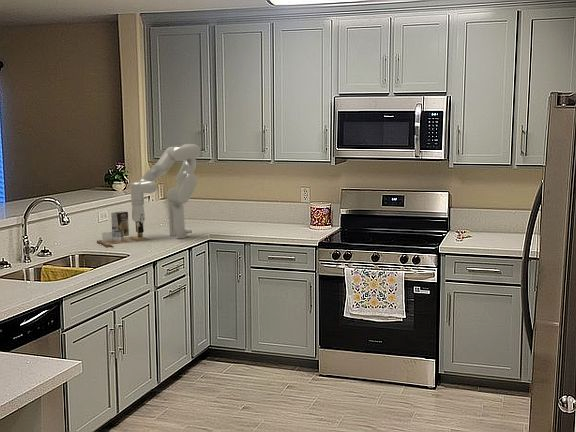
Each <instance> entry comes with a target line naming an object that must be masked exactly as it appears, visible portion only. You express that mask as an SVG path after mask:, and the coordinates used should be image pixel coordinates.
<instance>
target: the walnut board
mask: <svg viewBox="0 0 576 432" xmlns="http://www.w3.org/2000/svg"><path fill="white" fill-rule="evenodd" d="M145 241H152V238H151V239H150V238H147V237H145V236H143V237H141V238H138V235H134V236H128V237H127V236H124V241H122V242H106V243H103V241H102V239H99V240H96V244H98V245H100V244H101V246H102V245H103V246H102V247H104V248H114V246H115V245H118V244H127V243H128V244H129V243H138V242H145Z"/></svg>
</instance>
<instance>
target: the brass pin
mask: <svg viewBox="0 0 576 432" xmlns="http://www.w3.org/2000/svg"><path fill="white" fill-rule="evenodd" d="M136 233H137V236H138V238H141V237H144V236H143V233H144V232H143V233H138V222H137V232H136Z"/></svg>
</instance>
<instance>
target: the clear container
mask: <svg viewBox="0 0 576 432" xmlns="http://www.w3.org/2000/svg"><path fill="white" fill-rule="evenodd" d="M124 237H125V236H124V231H122V230H114V229H112V228H111V231H107V232H102V233H101V240H102V241H103V243H106V242H122V241H124Z"/></svg>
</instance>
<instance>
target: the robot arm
mask: <svg viewBox="0 0 576 432" xmlns="http://www.w3.org/2000/svg"><path fill="white" fill-rule="evenodd" d="M201 153H202V151H201V148H200V146H199V145H198V144H195V143H194V144H193V143H185V144H182V145H181V146H169V147H167V148H166V149H165V150H164V152H163V154H161V156H160V157H159V159H158V161H157V162H156V163H155V164H154V165H153V166H152V167H151V168H150V169H149V170H147V171H146V172H145V173H144V174H143V176H142V177H141V178H140V180H139V181H134V182H131V183H130V184H129V185H130V186H129V187H130V190H129V191H130V198H131V199H130V202H131V220H132V221H133V222H134V225H135V232H136V233H137V222H138V233H144V229H145V228H144V223H145V220H146V219H145V218H146V215H145V209H144V208H145V207H144V205H145V198H144V197H145V195H144V194H153V193H154V192H156V191H157V189H158V188H157V187H158V186H157V184H156V182H155V180H156V179H158V178H159V177H161V176H164V175H165V174H167V173H168V172H169V170H170V169H171V168H172V167H173V165H174V164H175V161H178V162H179V161H182V164H181V167H180V169H179V171H178V173H177V175H176V178H175V184H176V185H177V187H176V186H175V187H173V186H172V187H171V188H169V189H168V190H167V193H166V201H167V204H168V205H167V207H168V220H169V221H168V224H169V234H168V235H167V236H168V237H170V238H174V239H186V238H188V234H192V233H193V230H192V229H185V226H186V223H185V207H184V204H186V203H188V202H189V201H190V199H191V197H192V195H193V192H194V191H195V189H196V186H197V183H198V178H197V176H196V175H195V174H194V173H195V170H196V168H197V161H196V160H197V159H196V158H198V157H199V156H200V155H201ZM138 233H137V234H138Z"/></svg>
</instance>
